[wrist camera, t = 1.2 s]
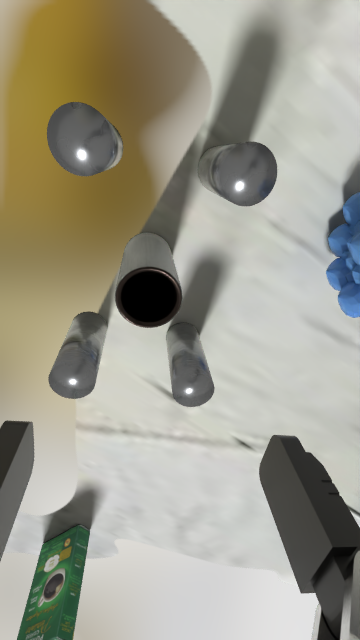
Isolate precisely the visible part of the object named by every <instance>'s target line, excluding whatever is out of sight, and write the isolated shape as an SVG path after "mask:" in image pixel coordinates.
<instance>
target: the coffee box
mask: <svg viewBox="0 0 360 640" xmlns="http://www.w3.org/2000/svg"><path fill="white" fill-rule="evenodd" d="M89 535H90V530H89V529H87V528H86V527H84V526H82V525H77V526H75V527H73V528H71V529H69V530H68V531H66V532H64V533H63V534H61V535H59V536H57V537H55V538H53V539H51V540H49V541H48V542H46V543H44V544H43V545H42V549H41V552H40V555H39V559H38V563H37V567H36V571H35V574H34V579H33V582H32V586H31V589H30V593H29V597H28V600H27V604H26V608H25V612H24V615H23V619H22V622H21V626H20V630H19V634H18V637H17V640H73V636H74V629H75V622H76V616H77V609H78V604H79V598H80V591H81V585H82V578H83V572H84V566H85V559H86V554H87V547H88V541H89Z"/></svg>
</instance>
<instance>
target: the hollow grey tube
mask: <svg viewBox="0 0 360 640" xmlns="http://www.w3.org/2000/svg"><path fill="white" fill-rule="evenodd" d="M115 302H116V306H117V308H118V310H119V312H120V314H121V315H122V316H123V317H124V318H125V319H126V320H127V321H129V322H130V323H132V324H134V325H136V326H139V327H145V328H153V327H158V326H161V325H164V324H166V323H168V322H169V321H170V320H172V319H173V318H174V317H175V316H176V314H177V313H178V311H179V309H180V307H181V304H182V290H181V286H180V282H179V279H178V275H177V271H176V268H175V264H174V260H173V257H172V253H171V250H170V247H169V245H168V244H167V242H166V241H165V240H164V239H163V238H162V237H160V236H159V235H157V234H154V233H140V234H138V235H136V236H134V237H133V238H131V240H130V241H129V242H128V243H127V245H126V247H125V250H124V254H123V259H122V263H121V268H120V273H119V277H118V282H117V287H116V292H115Z"/></svg>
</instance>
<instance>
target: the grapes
mask: <svg viewBox="0 0 360 640" xmlns="http://www.w3.org/2000/svg"><path fill="white" fill-rule="evenodd" d="M343 215H344V218H345V221H346V222H347V223H348V224H343V225H340V226H338V227H337V228H335V229H334V230H333V231H332V233H331V234H330V236H329V237H328V241H329V246H330V249H331V251H332V252H333V254H334V255H335V256H336V257H340V258H337V259H335V260H334V261H333V262H332V263H331V264H330V265H329V267H328V268H327V270H326V274H327V279H328V281H329V284H330V285H331V286H332V287H333V288H334V289H335V290H338V291H340V292H339V295H338V302H339V305H340V307H341V309H342V311H343V312H344V313H345V314H346V315H348V316H350V317H353V318H356V317H360V192H358V193H356V194H354V195H352V196H351V197H350V198H349V199H348V200H347V201H346V202H345V204H344V205H343Z"/></svg>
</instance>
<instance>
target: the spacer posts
mask: <svg viewBox="0 0 360 640" xmlns="http://www.w3.org/2000/svg"><path fill="white" fill-rule="evenodd" d="M47 139H48V145H49V148H50V150H51V153H52V155H53V156H54V158H55V159H56V161H57V162H58V163H59V164H60V165H61V166H62V167H63V168H64V169H65V170H67V171H69V172H70V173H73V174H75V175H79V176H91V175H94V174H97V173H100V172H102V171H105V170H108V169H110V168H112V167H114V166H115V165H116V164H117V163H118V162H119V161H120V159H121V157H122V152H123V142H122V139H121V136H120V134H119V132H118V130H117V129H116V128H115V127H114V126H113V125H112V124H111V123H110V122H109V121H108V120H107V119H106V118H105V117H104V116H103V115H102V114H101V113H99V112H98V111H97V110H96V109H95V108H93V107H91V106H89V105H87V104H84V103H79V102H71V103H67V104H64V105H62V106H61V107H59V108H58V109H57V110H56V111H55V112H54V113H53V115H52V116H51V118H50V120H49V123H48V128H47ZM198 176H199V179H200V181H201V183H202V185H203V186H204V187H205V188H206V189H208V190H210V191H212V192H214V193H215V194H217V195H219V196H221V197H223V198H225V199H227V200H228V201H230V202H232V203H234V204H236V205H239V206H252V205H255V204H257V203H259V202H261V201H262V200H264V199H265V198H266V197H267V196H268V195H269V193H270V192H271V190H272V189H273V187H274V185H275V182H276V178H277V164H276V160H275V157H274V155H273V153H272V152H271V151H270V150H269V149H268V148H267V147H266V146H265V145H263V144H261V143H257V142H245V143H237V144H229V145H222V146H215V147H212V148H210V149H208V150H207V151H206V152H205V153H204V154H203V155H202V157H201V159H200V161H199V165H198ZM106 332H107V324H106V322H105V320H104V319H103V317H101V316H100V315H99V314H97V313H94V312H83V313H80V314H78V315H77V316H76V317H75V318H74V319H73V322H72V324H71V326H70V328H69V331H68V333H67V335H66V338H65V340H64V342H63V345H62V347H61V349H60V351H59V354H58V356H57V358H56V361H55V363H54V365H53V368H52V370H51V372H50V374H49V384H50V387H51V388H52V389H53V391H55V392H56V393H57V394H59V395H60V396H63V397H65V398H72V399H76V398H82V397H84V396H86V395H88V394H89V393H91V392H92V390H93V389H94V386H95V382H96V378H97V373H98V369H99V364H100V359H101V355H102V350H103V346H104V341H105V336H106ZM166 341H167V350H168V358H169V367H170V375H171V384H172V392H173V397H174V399H175V400H176V401H177V402H178V403H179V404H181V405H183V406H187V407H195V406H200V405H202V404H204V403H206V402H207V401H208V400H209V399H210V398H211V397H212V395H213V393H214V384H213V381H212V377H211V374H210V371H209V367H208V364H207V361H206V358H205V354H204V351H203V348H202V344H201V341H200V338H199V334H198V331H197V329H196V328H195V327H194V326H193V325H191V324H188V323H178V324H175V325H174V326H172V327H171V328H170V329H169V330H168V332H167V335H166Z"/></svg>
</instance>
